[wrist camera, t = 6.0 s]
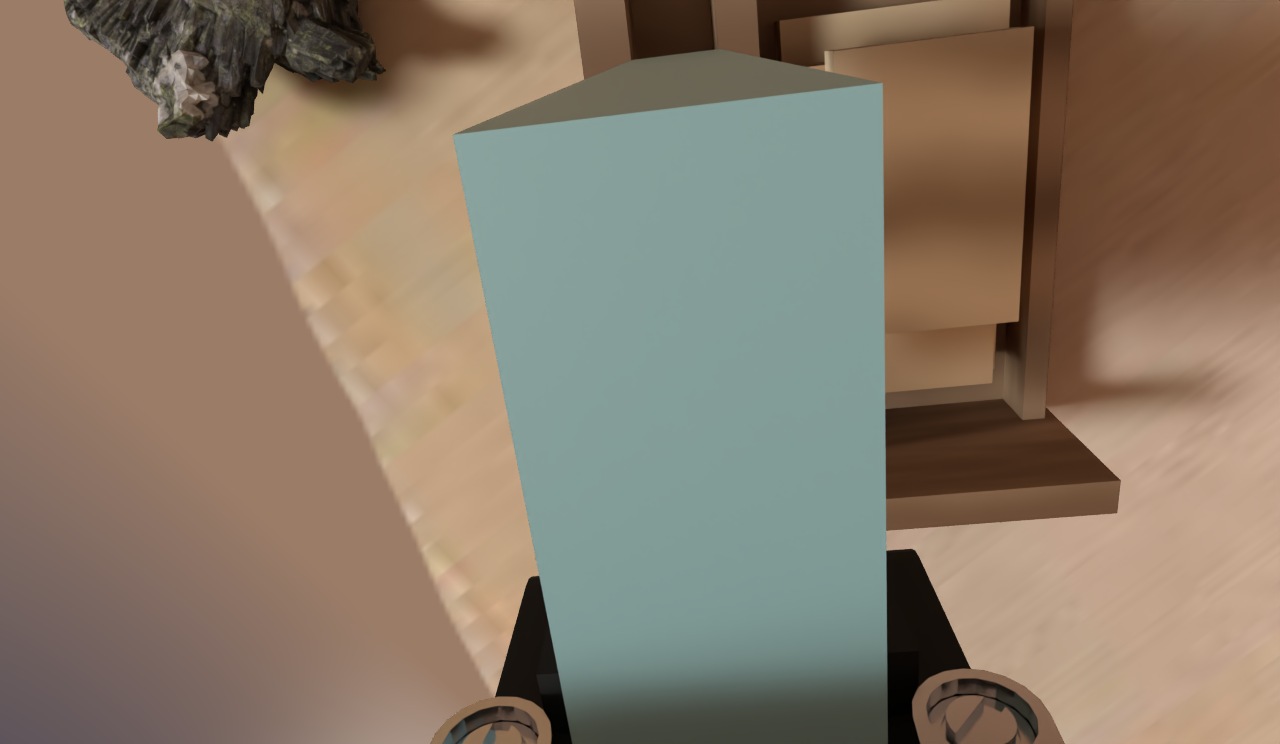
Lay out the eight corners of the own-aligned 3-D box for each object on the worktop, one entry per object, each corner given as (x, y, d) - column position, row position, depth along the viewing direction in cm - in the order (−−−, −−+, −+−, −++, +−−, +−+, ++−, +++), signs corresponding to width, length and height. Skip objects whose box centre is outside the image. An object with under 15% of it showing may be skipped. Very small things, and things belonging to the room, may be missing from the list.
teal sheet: (631, 60, 23) (452, 135, 5) (719, 49, 23) (882, 83, 5) (680, 486, 28) (684, 1312, 10) (752, 480, 28) (892, 1313, 10)
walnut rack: (571, -52, 35) (533, -88, 26) (1050, -119, 34) (1193, -183, 24) (637, 444, 44) (626, 550, 35) (1020, 411, 42) (1117, 513, 33)
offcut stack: (774, 22, 35) (792, 17, 29) (992, -6, 34) (1054, -17, 28) (792, 371, 40) (811, 422, 35) (979, 354, 40) (1028, 403, 34)
